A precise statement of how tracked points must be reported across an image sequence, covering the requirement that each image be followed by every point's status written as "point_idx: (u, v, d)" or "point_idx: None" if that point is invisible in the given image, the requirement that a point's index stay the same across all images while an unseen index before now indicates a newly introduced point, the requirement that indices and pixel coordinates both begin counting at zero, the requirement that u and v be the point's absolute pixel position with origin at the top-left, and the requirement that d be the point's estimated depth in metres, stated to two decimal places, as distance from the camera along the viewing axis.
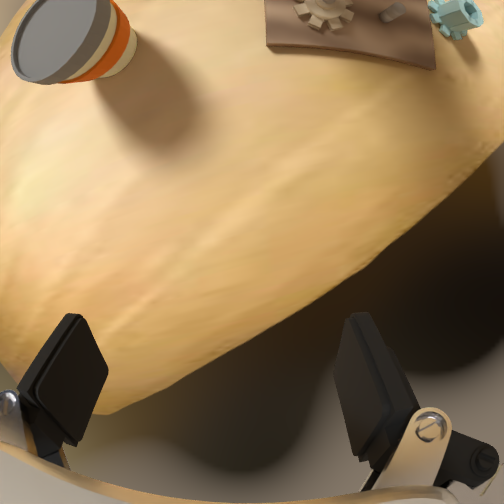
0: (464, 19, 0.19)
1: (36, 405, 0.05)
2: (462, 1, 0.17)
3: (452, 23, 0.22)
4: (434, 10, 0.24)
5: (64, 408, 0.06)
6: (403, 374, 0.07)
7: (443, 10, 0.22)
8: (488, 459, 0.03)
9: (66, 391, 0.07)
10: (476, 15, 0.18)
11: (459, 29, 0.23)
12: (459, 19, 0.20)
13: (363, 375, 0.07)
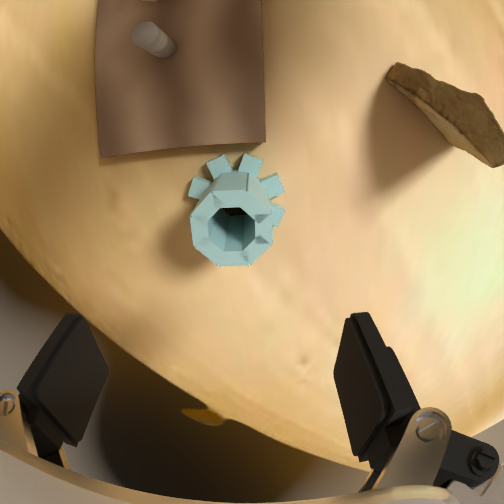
0: (197, 206, 0.18)
1: (36, 405, 0.05)
2: (246, 205, 0.17)
3: (204, 193, 0.21)
4: None
5: (64, 408, 0.06)
6: (403, 374, 0.07)
7: (232, 175, 0.21)
8: (488, 459, 0.03)
9: (66, 391, 0.07)
10: (230, 249, 0.19)
11: None
12: (201, 198, 0.19)
13: (363, 375, 0.07)
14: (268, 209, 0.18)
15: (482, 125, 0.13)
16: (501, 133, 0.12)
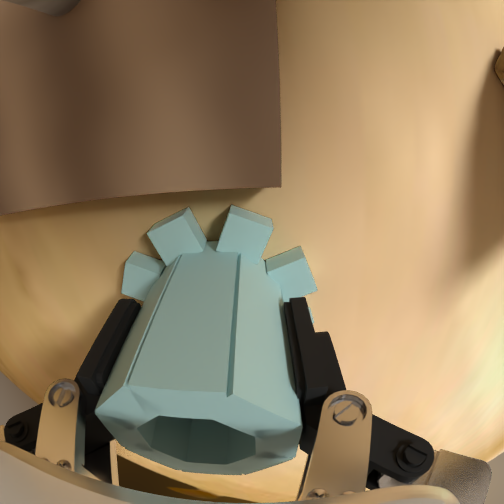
0: (108, 386, 0.06)
1: (97, 392, 0.06)
2: (232, 416, 0.05)
3: (140, 312, 0.09)
4: (220, 237, 0.10)
5: None
6: (335, 358, 0.08)
7: (200, 275, 0.09)
8: (418, 454, 0.04)
9: None
10: (202, 455, 0.07)
11: None
12: (122, 354, 0.07)
13: None
14: (292, 419, 0.05)
15: None
16: None
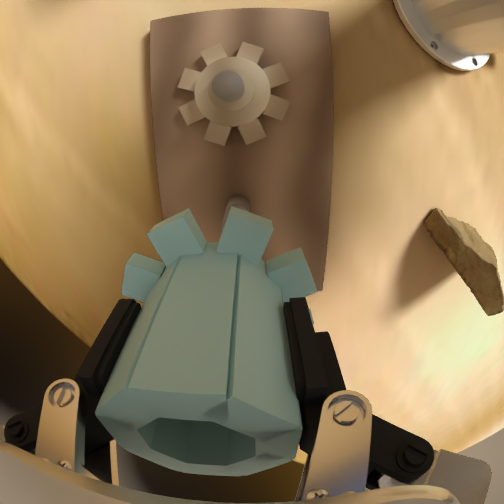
0: (109, 388, 0.06)
1: (97, 392, 0.06)
2: (232, 418, 0.05)
3: (141, 313, 0.09)
4: (220, 239, 0.10)
5: None
6: (335, 358, 0.08)
7: (200, 277, 0.09)
8: (418, 454, 0.04)
9: None
10: (201, 456, 0.07)
11: None
12: (122, 356, 0.07)
13: None
14: (292, 421, 0.05)
15: (488, 288, 0.19)
16: (501, 296, 0.18)
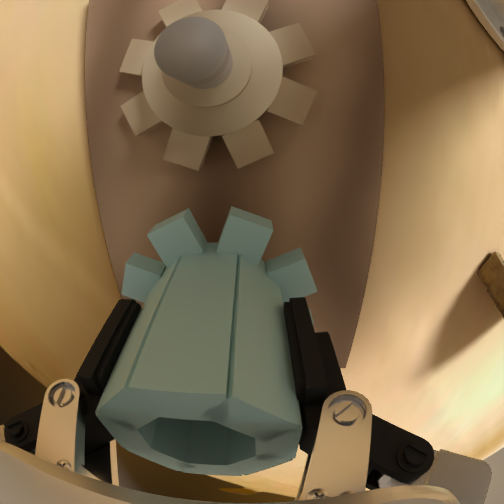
0: (109, 388, 0.06)
1: (97, 392, 0.06)
2: (232, 418, 0.05)
3: (141, 313, 0.09)
4: (220, 239, 0.10)
5: None
6: (335, 358, 0.08)
7: (200, 277, 0.09)
8: (418, 454, 0.04)
9: None
10: (202, 456, 0.07)
11: None
12: (122, 356, 0.07)
13: None
14: (292, 421, 0.05)
15: None
16: None
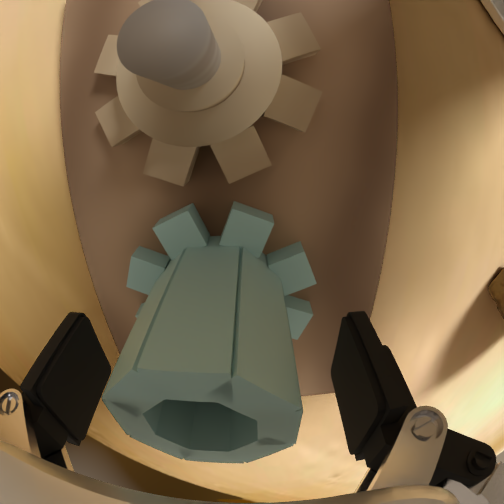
0: (116, 373, 0.06)
1: (39, 404, 0.05)
2: (235, 399, 0.06)
3: (146, 303, 0.09)
4: (223, 232, 0.11)
5: (67, 407, 0.06)
6: (399, 373, 0.07)
7: (204, 267, 0.09)
8: (485, 458, 0.03)
9: (69, 390, 0.07)
10: (205, 442, 0.07)
11: None
12: (129, 343, 0.07)
13: (359, 373, 0.07)
14: (293, 403, 0.06)
15: None
16: None
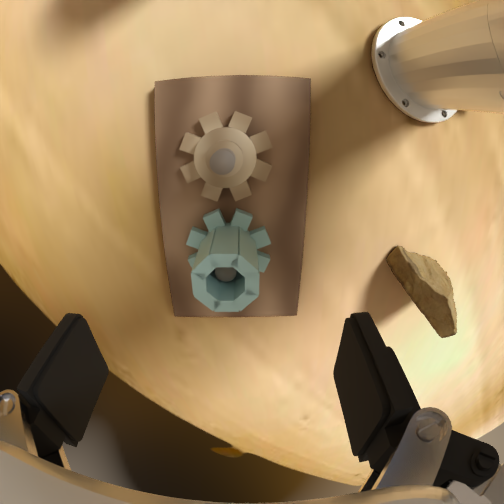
0: (196, 263, 0.22)
1: (36, 405, 0.05)
2: (238, 265, 0.21)
3: (201, 247, 0.25)
4: (231, 220, 0.26)
5: (64, 408, 0.06)
6: (403, 374, 0.07)
7: (226, 232, 0.25)
8: (488, 459, 0.03)
9: (66, 391, 0.07)
10: (224, 298, 0.23)
11: None
12: (199, 255, 0.23)
13: (363, 375, 0.07)
14: (256, 269, 0.21)
15: (441, 315, 0.25)
16: (452, 322, 0.24)
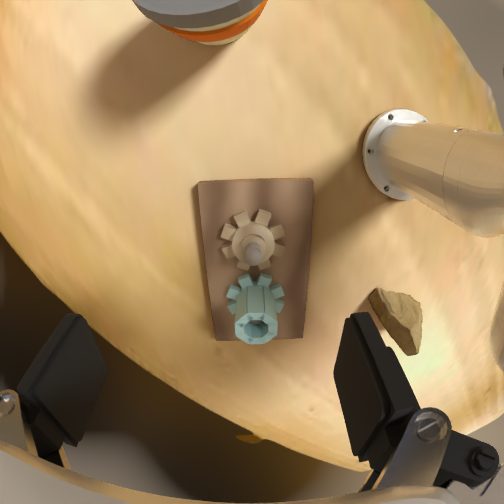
0: (238, 317, 0.34)
1: (36, 405, 0.05)
2: (264, 319, 0.34)
3: (238, 301, 0.37)
4: (257, 281, 0.39)
5: (64, 408, 0.06)
6: (403, 374, 0.07)
7: (254, 292, 0.37)
8: (488, 459, 0.03)
9: (66, 391, 0.07)
10: (255, 336, 0.35)
11: None
12: (239, 310, 0.35)
13: (363, 375, 0.07)
14: (275, 320, 0.34)
15: (405, 341, 0.37)
16: (414, 346, 0.36)
